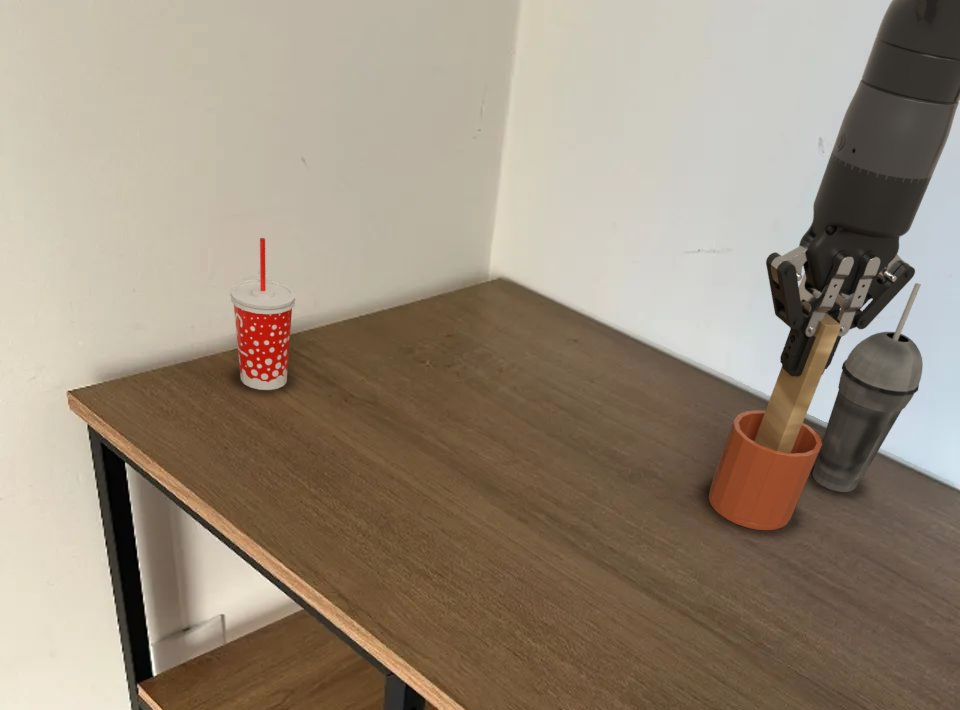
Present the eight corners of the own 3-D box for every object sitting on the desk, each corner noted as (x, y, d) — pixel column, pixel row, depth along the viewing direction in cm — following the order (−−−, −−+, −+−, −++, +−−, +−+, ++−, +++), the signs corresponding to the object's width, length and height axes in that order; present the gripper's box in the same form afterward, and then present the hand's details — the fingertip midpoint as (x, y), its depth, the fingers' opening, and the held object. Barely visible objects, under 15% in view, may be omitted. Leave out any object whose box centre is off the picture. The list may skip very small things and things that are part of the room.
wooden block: (764, 451, 91) (819, 307, 81) (783, 471, 88) (842, 325, 79) (750, 451, 90) (803, 307, 81) (768, 472, 88) (826, 325, 79)
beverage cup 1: (240, 361, 100) (236, 222, 90) (299, 370, 100) (302, 232, 91) (226, 388, 95) (220, 245, 86) (288, 397, 95) (289, 256, 86)
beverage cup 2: (799, 488, 96) (881, 293, 83) (798, 454, 102) (875, 265, 88) (871, 507, 95) (966, 312, 82) (867, 471, 101) (955, 283, 88)
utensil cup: (763, 481, 96) (791, 409, 91) (806, 527, 91) (838, 454, 86) (694, 485, 94) (718, 411, 89) (733, 533, 88) (762, 457, 83)
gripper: (835, 169, 67) (755, 395, 79) (988, 178, 71) (890, 391, 83) (780, 136, 72) (712, 353, 84) (925, 146, 77) (842, 351, 88)
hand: (801, 371), depth 83 cm, fingers closed on wooden block
